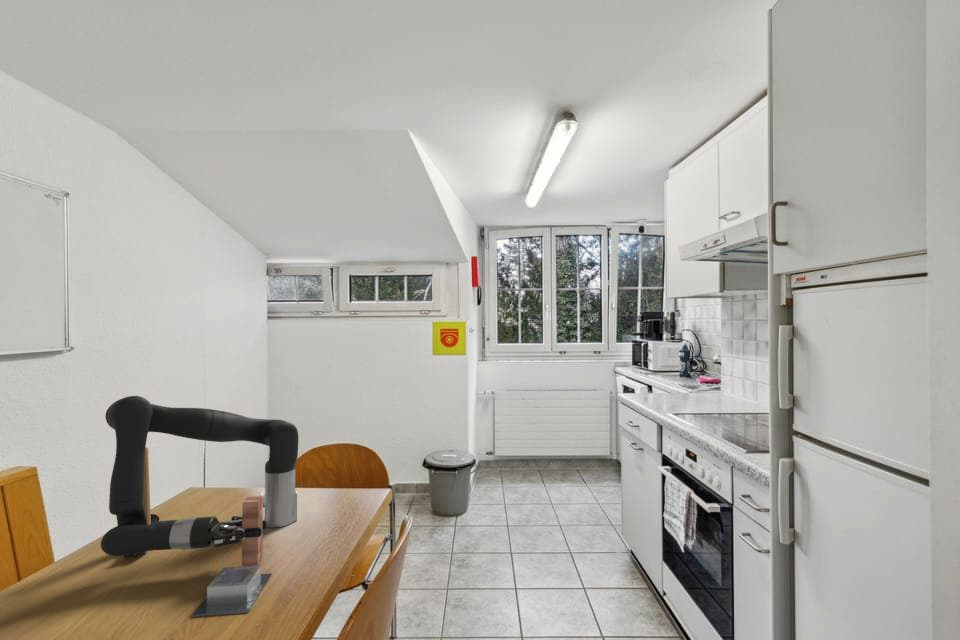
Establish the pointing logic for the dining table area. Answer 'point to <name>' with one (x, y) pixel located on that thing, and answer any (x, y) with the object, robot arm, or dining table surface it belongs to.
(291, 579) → the dining table surface
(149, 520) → the hammer
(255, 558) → the square peg
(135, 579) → the dining table surface
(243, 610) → the socket base
